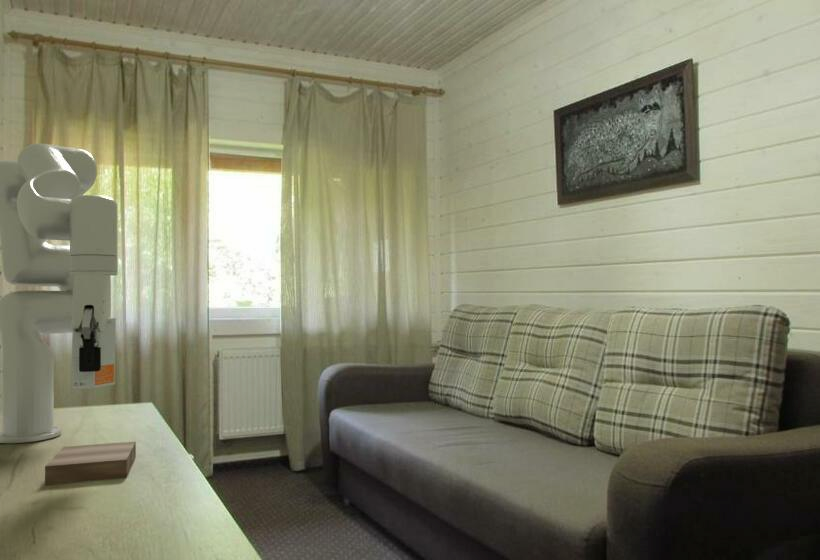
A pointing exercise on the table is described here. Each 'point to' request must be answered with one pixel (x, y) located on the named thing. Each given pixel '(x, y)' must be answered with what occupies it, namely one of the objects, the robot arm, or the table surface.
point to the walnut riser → (91, 463)
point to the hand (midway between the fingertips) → (93, 368)
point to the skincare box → (107, 359)
